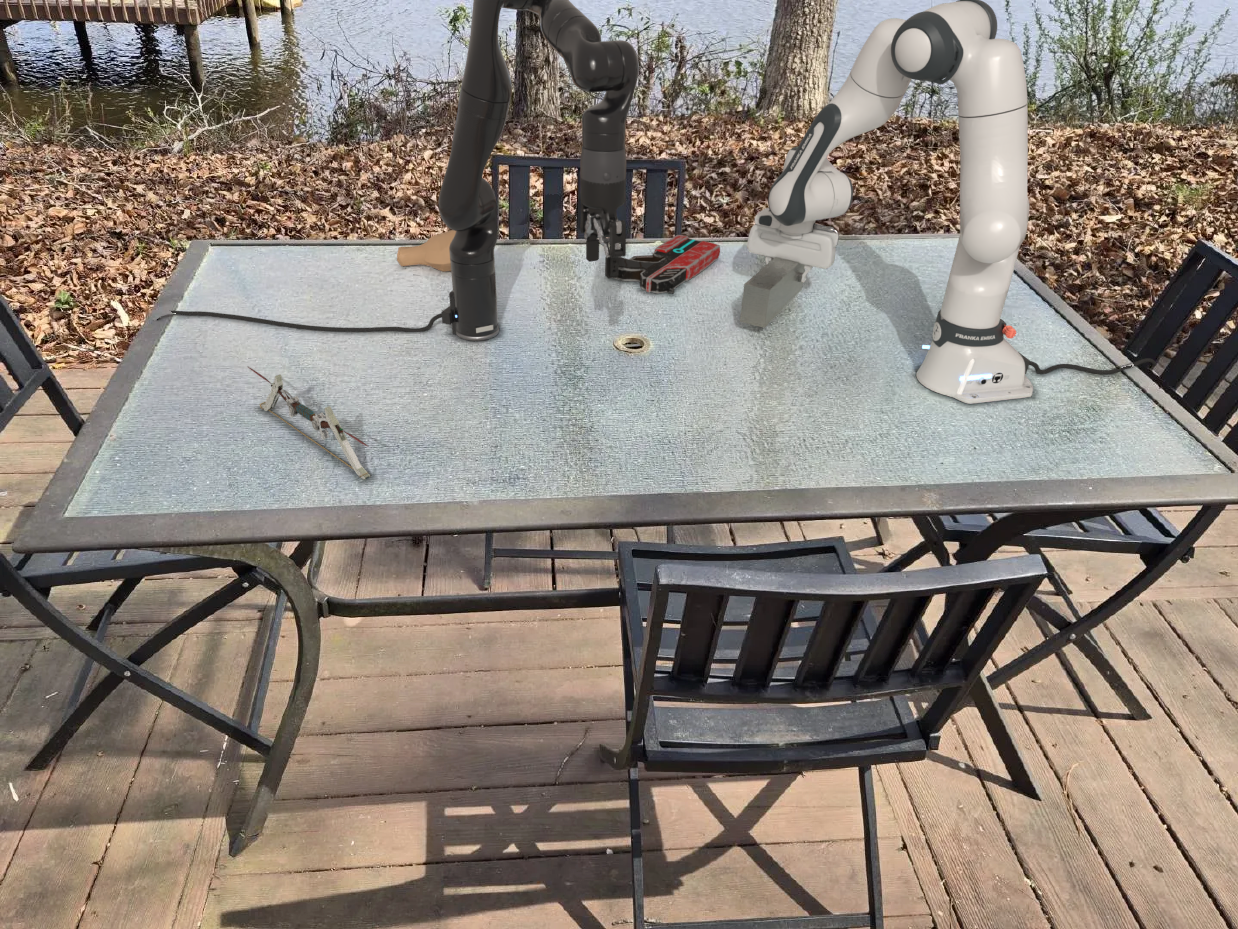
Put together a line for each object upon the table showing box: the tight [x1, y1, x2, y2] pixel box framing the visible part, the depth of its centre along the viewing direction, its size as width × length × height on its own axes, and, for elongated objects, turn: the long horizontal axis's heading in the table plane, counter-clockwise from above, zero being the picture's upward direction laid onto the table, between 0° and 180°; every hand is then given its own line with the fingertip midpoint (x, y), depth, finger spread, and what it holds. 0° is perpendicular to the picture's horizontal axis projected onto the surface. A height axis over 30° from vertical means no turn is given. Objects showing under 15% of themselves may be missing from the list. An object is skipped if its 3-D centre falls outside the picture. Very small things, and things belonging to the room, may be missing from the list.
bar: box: [739, 257, 806, 329], centre depth 197 cm, size 25×6×9 cm, turn 151°
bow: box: [247, 365, 371, 480], centre depth 151 cm, size 39×2×10 cm, turn 47°
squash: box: [396, 229, 456, 273], centre depth 222 cm, size 11×20×9 cm, turn 90°
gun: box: [613, 234, 721, 295], centre depth 225 cm, size 4×31×19 cm
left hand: (601, 268), depth 153 cm, fingers open, 8 cm apart
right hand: (786, 278), depth 204 cm, fingers closed on bar, 6 cm apart
